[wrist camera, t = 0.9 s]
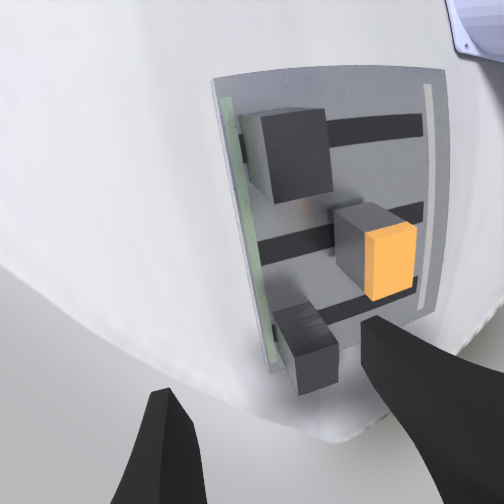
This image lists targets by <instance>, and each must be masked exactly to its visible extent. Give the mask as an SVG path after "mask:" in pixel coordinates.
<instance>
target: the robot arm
mask: <svg viewBox="0 0 504 504" xmlns="http://www.w3.org/2000/svg"><path fill="white" fill-rule="evenodd" d="M446 3H447V7H448V11H449V16H450V21H451V26H452V32H453V37H454V43H455V48H456V50H457V51H458V52H459V53H463V54H468V55H473V56H478V57H482V58H486V59H490V60H494V61H498V62H502V63H504V0H446ZM360 326H361V365H362V367H363V368H364V370H365V372H366V374H367V376H368V378H369V379H370V381H371V383H372V385H373V387H374V388H375V390H376V391H377V392H378V394H379V395H380V397H381V398H382V399H383V401H384V402H385V403H386V405H387V406H388V407H389V409H390V410H391V412H392V413H393V414H394V415H395V417H396V418H397V420H398V421H399V422H400V424H401V425H402V426H403V428H404V429H405V431H406V432H407V433H408V435H409V436H410V438H411V439H412V441H413V442H414V444H415V446H416V448H417V449H418V451H419V453H420V455H421V456H422V459H423V460H424V462H425V464H426V466H427V468H428V470H429V472H430V474H431V476H432V478H433V480H434V482H435V484H436V487H437V489H438V491H439V493H440V496H441V498H442V500H443V503H444V504H504V373H502V372H499V371H495V370H491V369H489V368H486V367H483V366H480V365H477V364H474V363H471V362H469V361H466V360H464V359H461V358H459V357H457V356H454V355H452V354H450V353H448V352H445V351H443V350H441V349H439V348H437V347H435V346H433V345H431V344H429V343H427V342H425V341H423V340H422V339H420V338H418V337H416V336H414V335H412V334H410V333H409V332H407V331H405V330H403V329H401V328H400V327H398V326H396V325H394V324H393V323H391V322H389V321H387V320H385V319H384V318H382V317H380V316H378V315H375V316H373V317H370V318H368V319H366V320H363V321H361V322H360ZM110 504H207V499H206V492H205V485H204V478H203V470H202V462H201V455H200V449H199V444H198V440H197V436H196V432H195V428H194V424H193V422H192V420H191V419H190V418H189V416H188V414H187V413H186V412H185V410H184V409H183V407H182V406H181V404H180V403H179V401H178V400H177V398H176V397H175V395H174V394H173V392H172V391H171V389H170V388H165V389H161V390H158V391H154V392H151V394H150V396H149V399H148V403H147V406H146V409H145V413H144V416H143V419H142V423H141V426H140V429H139V432H138V435H137V438H136V441H135V444H134V447H133V450H132V453H131V456H130V458H129V461H128V464H127V466H126V469H125V471H124V474H123V477H122V479H121V481H120V484H119V486H118V488H117V490H116V493H115V495H114V497H113V499H112V501H111V503H110Z"/></svg>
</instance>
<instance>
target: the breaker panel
mask: <svg viewBox="0 0 504 504" xmlns="http://www.w3.org/2000/svg"><path fill="white" fill-rule="evenodd" d="M210 83H211V89H212V94H213V99H214V105H215V110H216V115H217V121H218V126H219V131H220V137H221V142H222V147H223V152H224V158H225V163H226V168H227V173H228V179H229V184H230V189H231V194H232V199H233V204H234V210H235V215H236V220H237V225H238V230H239V235H240V240H241V245H242V250H243V255H244V261H245V266H246V271H247V276H248V281H249V286H250V291H251V296H252V301H253V306H254V311H255V316H256V321H257V325H258V330H259V335H260V340H261V345H262V350H263V355H264V360H265V363H266V366H267V368H268V371H269V373H273V372H276V371H280V370H283V369H286V370H287V372H288V375H289V377H290V379H291V381H292V383H293V385H294V388H295V390H296V392H297V394H298V396H300V395H303V394H306V393H309V392H312V391H315V390H318V389H321V388H324V387H326V386H329V385H332V384H334V383H337V382H338V365H339V351H340V350H342V349H345V348H348V347H350V346H353V345H356V344H358V343H361V326H360V322H361V321H363V320H366V319H368V318H370V317H373V316H375V315H378V316H380V317H382V318H384V319H385V320H387V321H389V322H391V323H393V324H394V325H396V326H398V327H400V326H403V325H405V324H407V323H410V322H412V321H414V320H416V319H419V318H421V317H423V316H425V315H427V314H430V313H432V312H434V311H435V306H436V301H437V296H438V290H439V284H440V278H441V271H442V264H443V257H444V249H445V240H446V230H447V218H448V204H449V184H450V129H449V109H448V96H447V85H446V75H445V70H442V69H432V68H420V67H406V66H382V65H340V66H316V67H300V68H288V69H278V70H268V71H260V72H252V73H245V74H238V75H231V76H225V77H219V78H214V79H212V80H211V81H210ZM367 202H373V203H375V204H377V205H378V206H380V207H382V208H384V209H386V210H387V211H389V212H391V213H393V214H395V215H396V216H398V217H400V218H402V219H403V220H405V221H407V222H409V223H410V224H412V225H414V226H415V227H417V238H416V252H415V263H414V273H413V282H412V287H410V288H407V289H405V290H402V291H400V292H397V293H394V294H392V295H389V296H386V297H384V298H381V299H378V300H375V301H372V300H371V299H370V298H369V297H368V296H367V295H366V294H365V293H364V292H363V291H362V290H361V289H360V288H359V287H358V286H357V285H356V284H355V283H354V282H353V281H352V280H351V279H350V278H349V277H348V276H347V275H346V274H345V273H344V272H343V271H342V270H341V268H340V267H339V266H338V265H337V264H336V254H335V235H334V219H333V210H337V209H341V208H345V207H350V206H354V205H358V204H363V203H367Z"/></svg>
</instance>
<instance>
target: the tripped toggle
mask: <svg viewBox="0 0 504 504" xmlns="http://www.w3.org/2000/svg"><path fill="white" fill-rule="evenodd" d="M333 219H334V235H335V254H336V264H337V265H338V266H339V267H340V268H341V270H342V271H343V272H344V273H345V274H346V275H347V276H348V277H349V278H350V279H351V280H352V281H353V282H354V283H355V284H356V285H357V286H358V287H359V288H360V289H361V290H362V291H363V292H364V293H365V294H366V295H367V296H368V297H369V298H370V299H371V300H372V301H375V300H378V299H381V298H384V297H386V296H389V295H392V294H394V293H397V292H400V291H402V290H405V289H407V288H410V287H412V282H413V273H414V263H415V252H416V238H417V227H415V226H414V225H412V224H410V223H409V222H407V221H405V220H403V219H402V218H400V217H398V216H396V215H395V214H393V213H391V212H389V211H387V210H386V209H384V208H382V207H380V206H378V205H377V204H375V203H373V202H367V203H363V204H358V205H354V206H350V207H345V208H341V209H337V210H333Z"/></svg>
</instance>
